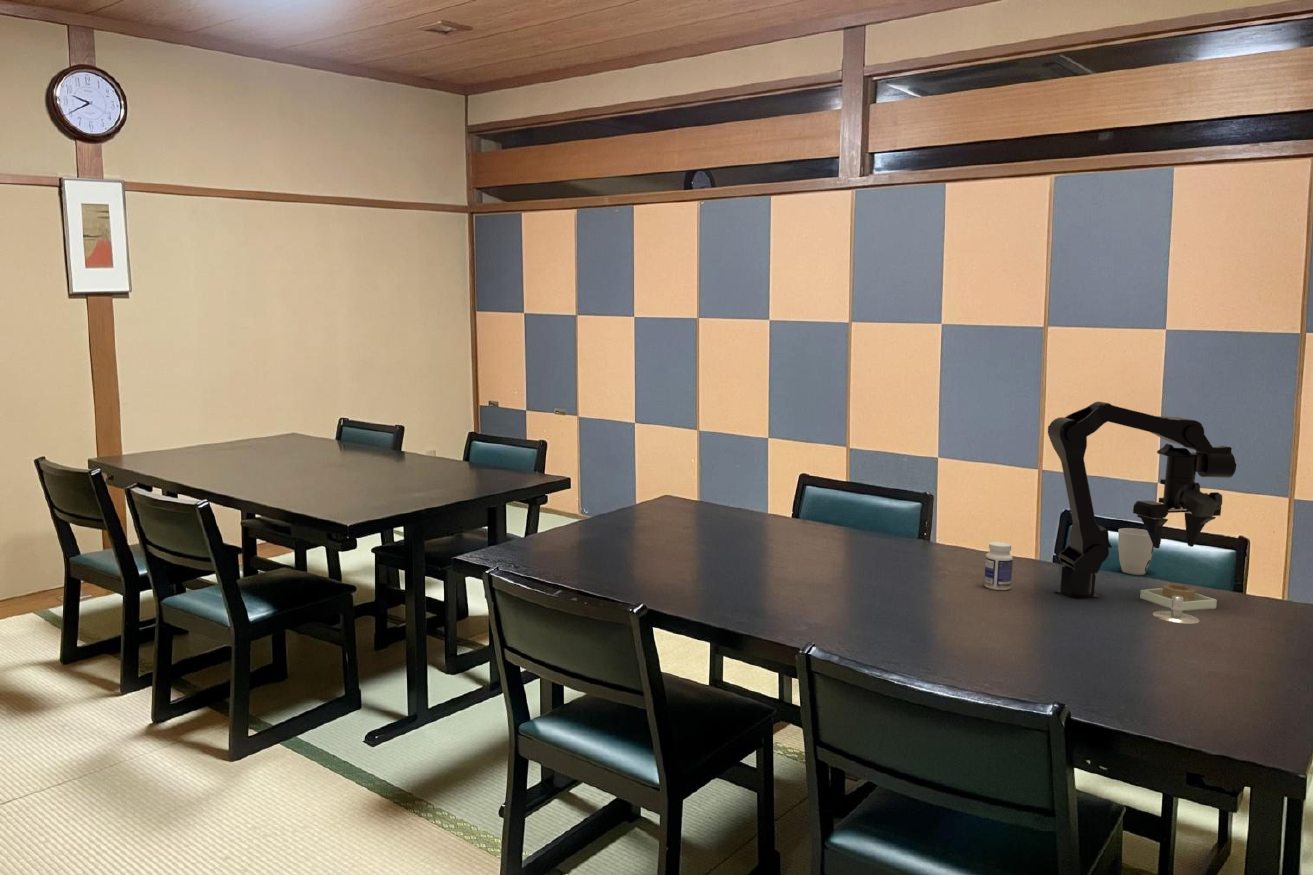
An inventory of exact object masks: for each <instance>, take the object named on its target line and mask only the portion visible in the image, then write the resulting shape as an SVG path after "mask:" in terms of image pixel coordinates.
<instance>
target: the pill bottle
mask: <svg viewBox="0 0 1313 875" xmlns="http://www.w3.org/2000/svg"><path fill="white" fill-rule="evenodd" d="M988 549H989V551H988V552H987V553H986V554H985V564H984V565H985V566H984V578H983V579H984V580H983V582H984V583H983V584H984V587H986V588H987V589H990V590H997V591H1007V590H1008V591H1009V590H1010V589H1011V588H1012V574H1013V562H1014V557H1013V555H1012V554H1011V553H1010V552H1011V551H1012V544H1010V543H1008V542H1002V541H991V542H989V544H988Z"/></svg>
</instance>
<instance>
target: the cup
mask: <svg viewBox="0 0 1313 875" xmlns="http://www.w3.org/2000/svg"><path fill="white" fill-rule="evenodd" d="M1117 533H1118V536H1117V537H1118V538H1117V539H1118V540H1117V542H1118V543H1117V546H1118V547H1117V548H1118V558H1119V564H1120V567H1121V571H1122V572H1123V573H1125V574H1130V575H1135V576H1138V575H1139V576H1140V575H1145V574H1146V572H1147V570H1148V567H1149V566H1150V563H1151V560H1152V556H1153V553H1154V546H1153V543H1152V541H1151V539H1150V536H1149V534H1148V531H1147V529H1140V528H1132V527H1126V528H1125V527H1123V528H1119V529H1118V531H1117Z"/></svg>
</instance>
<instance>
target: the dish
mask: <svg viewBox="0 0 1313 875" xmlns="http://www.w3.org/2000/svg"><path fill="white" fill-rule="evenodd" d="M1162 591H1163V587H1161V588H1160V587H1159V588H1149V589H1148V588H1147V589H1141V590H1140V596H1139V599H1142V600H1145V601H1147V602H1150V603H1153V604H1155V605H1158V606H1162V607H1164V608H1167V609H1169V610H1171V606H1172V599H1169V598H1166V597H1163V596H1162ZM1217 603H1218V600H1217V599H1216V598H1212V597H1209V596H1206V595H1203V594H1200V593H1196V592H1195V599H1194V601H1187V602H1183V608H1182V612H1192V611H1201V610H1202V611H1203V610H1212V609H1217Z"/></svg>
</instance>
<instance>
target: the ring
mask: <svg viewBox="0 0 1313 875" xmlns="http://www.w3.org/2000/svg"><path fill="white" fill-rule="evenodd" d="M1162 588H1163V591H1162V596H1163V597H1166V598H1169V599H1172V596H1181V597H1183V602H1187V601H1194V599H1195V593H1196V589H1195V588H1194V587H1192V586H1189V585H1185V584H1180V583H1179V584H1178V583H1164V584H1162Z"/></svg>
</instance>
